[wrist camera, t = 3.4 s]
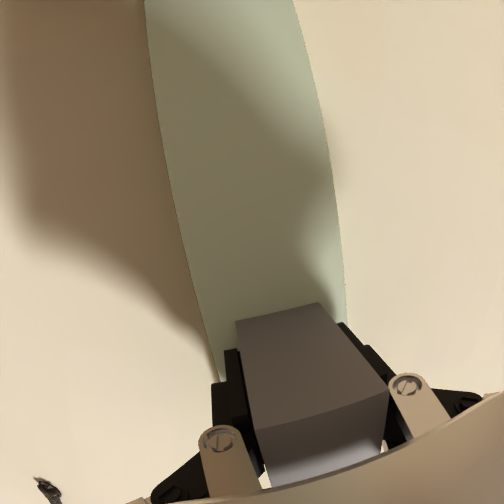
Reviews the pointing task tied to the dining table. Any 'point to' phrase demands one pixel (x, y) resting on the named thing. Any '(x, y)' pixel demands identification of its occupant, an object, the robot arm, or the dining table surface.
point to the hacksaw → (50, 492)
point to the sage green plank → (263, 226)
